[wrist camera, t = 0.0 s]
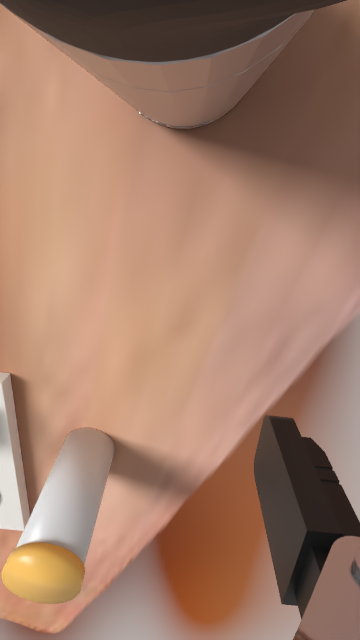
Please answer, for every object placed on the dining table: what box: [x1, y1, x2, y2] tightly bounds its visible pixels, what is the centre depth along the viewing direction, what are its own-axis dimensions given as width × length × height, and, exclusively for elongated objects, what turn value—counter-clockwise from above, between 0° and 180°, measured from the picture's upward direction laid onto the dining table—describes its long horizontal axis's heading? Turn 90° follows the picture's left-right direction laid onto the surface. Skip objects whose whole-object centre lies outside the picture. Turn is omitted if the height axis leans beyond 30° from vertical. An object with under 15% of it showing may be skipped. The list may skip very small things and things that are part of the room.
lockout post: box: [1, 428, 115, 604], centre depth 29 cm, size 5×5×12 cm
